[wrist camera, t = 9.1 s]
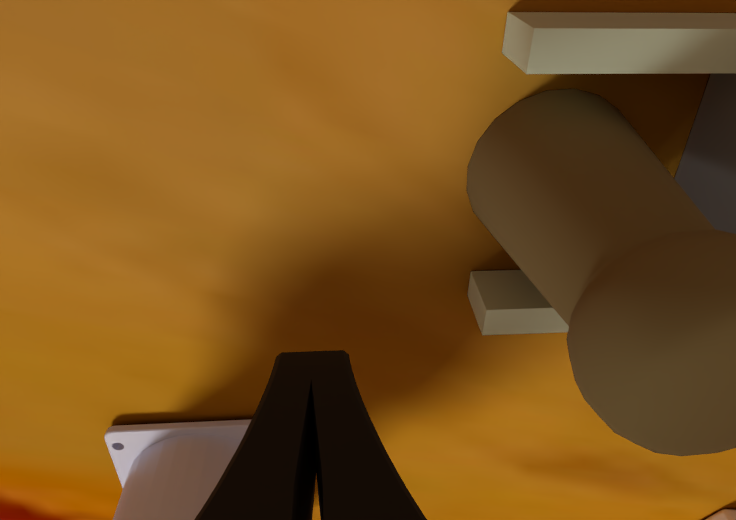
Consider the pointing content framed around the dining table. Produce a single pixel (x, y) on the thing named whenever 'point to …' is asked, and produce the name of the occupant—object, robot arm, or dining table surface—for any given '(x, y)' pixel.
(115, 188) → the dining table surface
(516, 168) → the cork
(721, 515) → the jar
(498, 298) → the grey rectangular box
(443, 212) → the dining table surface
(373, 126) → the dining table surface
